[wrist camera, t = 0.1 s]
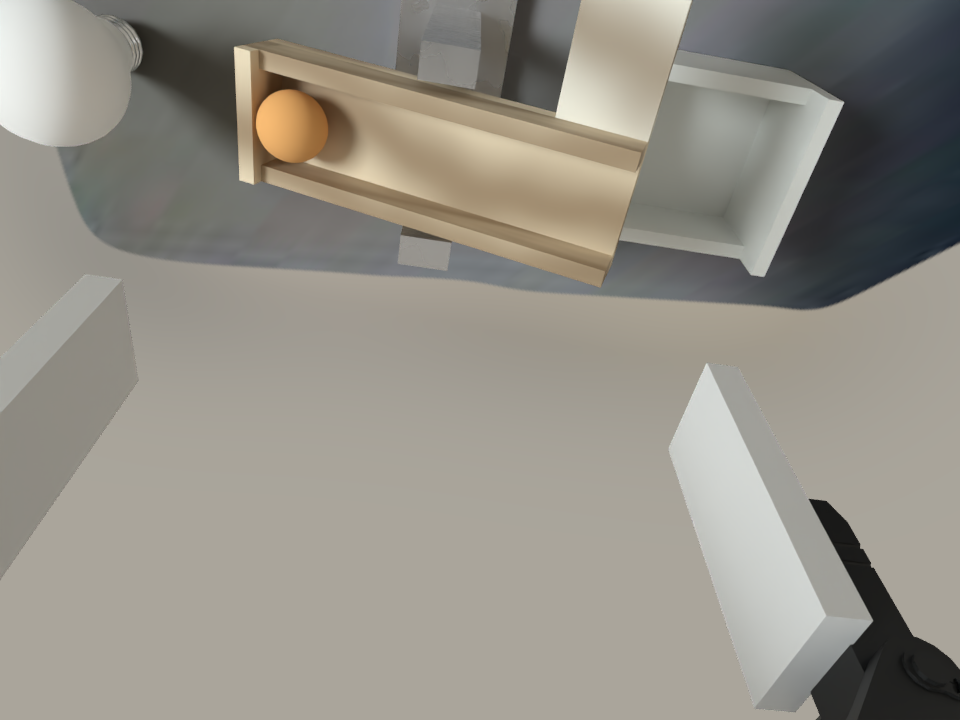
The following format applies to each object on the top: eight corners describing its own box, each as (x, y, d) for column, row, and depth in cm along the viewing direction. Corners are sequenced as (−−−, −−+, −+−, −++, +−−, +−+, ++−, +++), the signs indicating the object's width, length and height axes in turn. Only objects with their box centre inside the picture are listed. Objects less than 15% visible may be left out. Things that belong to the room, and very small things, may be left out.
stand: (406, -38, 35) (379, -11, 26) (519, -16, 36) (532, 18, 26) (385, 197, 42) (358, 285, 33) (479, 212, 43) (478, 302, 34)
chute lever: (289, -158, 28) (225, -172, 25) (717, -72, 25) (709, -75, 21) (288, 161, 36) (239, 183, 33) (614, 260, 32) (596, 297, 29)
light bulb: (42, 51, 38) (-96, 102, 29) (85, -58, 35) (-55, -40, 26) (155, 126, 40) (61, 195, 31) (204, 30, 37) (115, 75, 28)
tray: (636, 41, 37) (664, 69, 32) (789, 70, 38) (844, 102, 32) (592, 204, 43) (609, 253, 37) (726, 225, 44) (764, 277, 38)
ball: (284, 76, 32) (239, 87, 29) (343, 93, 31) (301, 106, 28) (285, 143, 33) (242, 159, 31) (340, 161, 33) (300, 179, 30)
